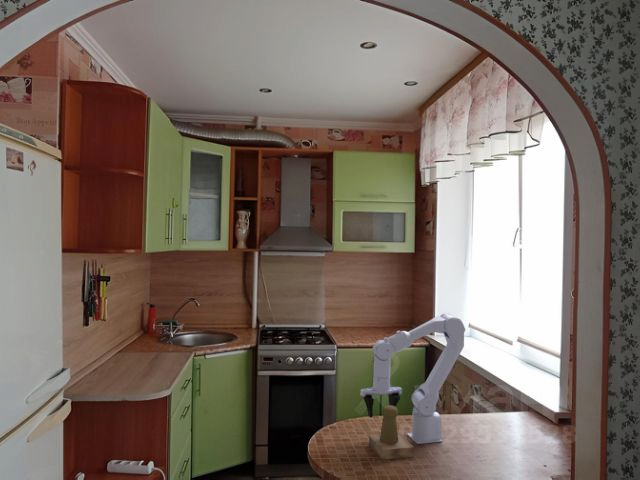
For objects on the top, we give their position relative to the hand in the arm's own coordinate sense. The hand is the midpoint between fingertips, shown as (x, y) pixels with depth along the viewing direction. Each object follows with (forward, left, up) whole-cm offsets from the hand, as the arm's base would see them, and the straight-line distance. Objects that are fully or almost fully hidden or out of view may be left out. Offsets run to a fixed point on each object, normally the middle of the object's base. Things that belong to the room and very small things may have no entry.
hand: (380, 415), depth 165 cm
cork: (0, +8, -5) cm, 10 cm away
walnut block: (0, +9, -8) cm, 12 cm away
